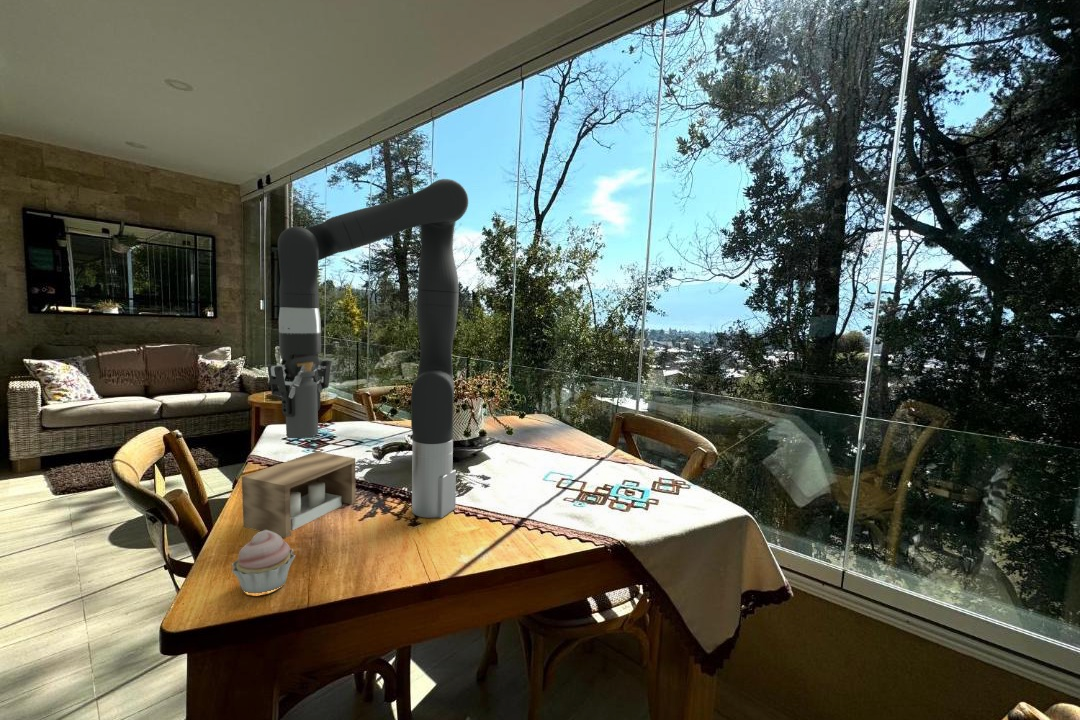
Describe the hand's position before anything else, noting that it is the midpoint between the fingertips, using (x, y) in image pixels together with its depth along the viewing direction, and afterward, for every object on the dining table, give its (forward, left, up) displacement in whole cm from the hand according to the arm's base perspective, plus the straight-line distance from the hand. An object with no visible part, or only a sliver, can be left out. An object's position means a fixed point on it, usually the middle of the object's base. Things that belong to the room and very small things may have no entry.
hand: (302, 412), depth 99 cm
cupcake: (-10, +18, -26) cm, 33 cm away
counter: (+7, -6, -25) cm, 27 cm away
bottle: (0, 0, -5) cm, 5 cm away
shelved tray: (+7, -6, -25) cm, 27 cm away
